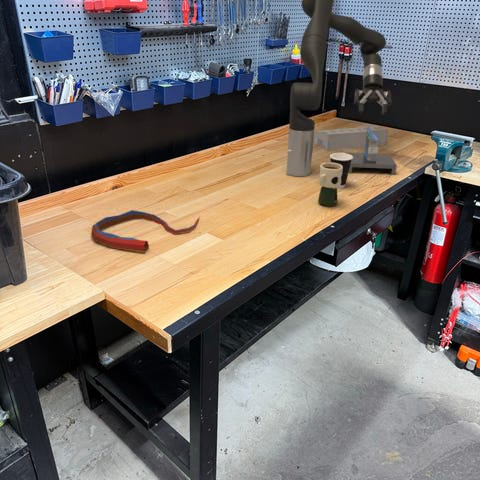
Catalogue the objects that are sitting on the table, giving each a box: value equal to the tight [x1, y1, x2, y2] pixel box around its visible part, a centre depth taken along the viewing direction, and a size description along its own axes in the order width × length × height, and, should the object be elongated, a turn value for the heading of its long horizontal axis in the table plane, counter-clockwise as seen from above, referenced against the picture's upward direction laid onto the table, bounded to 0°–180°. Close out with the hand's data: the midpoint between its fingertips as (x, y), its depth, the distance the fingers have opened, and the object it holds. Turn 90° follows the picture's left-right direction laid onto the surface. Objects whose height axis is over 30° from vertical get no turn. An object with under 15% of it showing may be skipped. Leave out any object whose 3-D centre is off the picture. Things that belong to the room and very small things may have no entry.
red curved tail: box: [90, 210, 200, 254], centre depth 132 cm, size 31×22×5 cm
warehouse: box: [313, 126, 389, 152], centre depth 211 cm, size 30×14×8 cm, turn 108°
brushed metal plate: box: [344, 151, 398, 176], centre depth 181 cm, size 18×14×4 cm
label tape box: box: [363, 124, 379, 162], centre depth 177 cm, size 9×4×12 cm, turn 173°
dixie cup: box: [329, 152, 353, 189], centre depth 162 cm, size 8×8×11 cm
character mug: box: [317, 161, 343, 207], centre depth 147 cm, size 11×7×13 cm, turn 136°
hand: (372, 113), depth 180 cm, fingers open, 8 cm apart
